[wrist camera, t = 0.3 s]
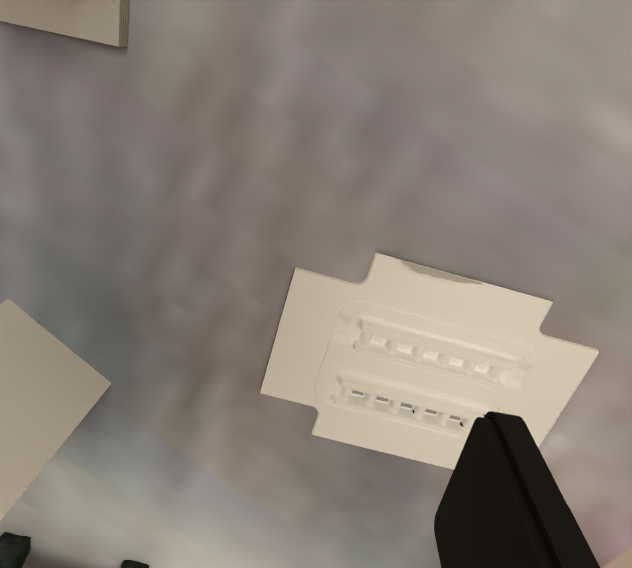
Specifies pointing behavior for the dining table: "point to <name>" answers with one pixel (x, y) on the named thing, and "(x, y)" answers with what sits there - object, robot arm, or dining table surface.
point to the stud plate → (72, 18)
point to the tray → (418, 358)
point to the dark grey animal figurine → (11, 551)
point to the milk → (37, 399)
